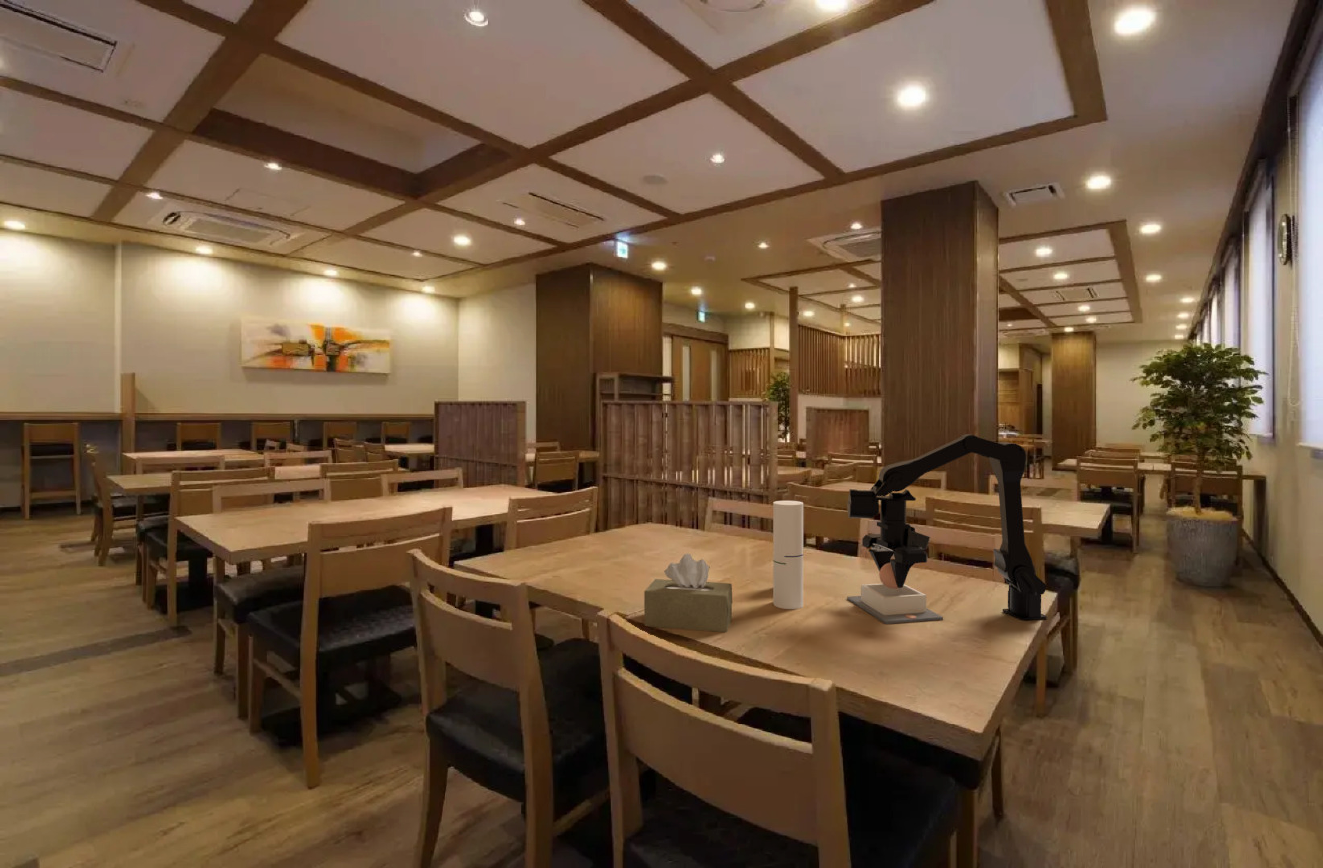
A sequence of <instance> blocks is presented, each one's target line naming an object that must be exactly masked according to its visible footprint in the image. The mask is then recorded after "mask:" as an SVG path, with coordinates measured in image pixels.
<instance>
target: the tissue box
mask: <svg viewBox="0 0 1323 868" xmlns="http://www.w3.org/2000/svg"><path fill="white" fill-rule="evenodd" d="M663 572H664V574H665V577H667V578H668V579H661V578H659V579H658V578H655V579H653V581H652V582H651V583H650V584H649V585H648V586H647V588H646V589H645V590H644V591H643V597H644V598H643V601H644V603H643V605H644V606H643V607H644V626H646V627H653V628H664V629H665V628H666V629H680V630H689V631H690V630H692V631H693V630H694V631H704V632H705V631H707V632H718V633H727V632H728V629H729V626H730V623H731V622H732V619H733V618H732V617H733V616H732V615H733V609H732V608H733V584H732V583H730V582H729V583H728V582H726V583H725V582H715V581H714V582H710V581H709V582H708V577H709V572H710V565H708V564H707V562H706V561H705V560H704V559H702V558H701V559H699V560H695V559H693V556H692V554H690V553H685V554H684V555H683V556H682V557H681V558H680V560H679V562H677V563H675V562H670V563H669V564H668V566H667V568H665V570H663Z"/></svg>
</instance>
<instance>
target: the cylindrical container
mask: <svg viewBox="0 0 1323 868" xmlns="http://www.w3.org/2000/svg"><path fill="white" fill-rule="evenodd" d="M772 503H773V504H772V506H773V507H772V509H773V510H772V511H773V512H772V513H773V514H772V515H773V516H772V517H773V519H772V521H773V522H772V523H773V524H772V527H773V529H772V535H773V537H772V538H773V542H772V545H773V547H772V548H773V549H772V551H773V555H772V559H773V561H772V562H773V563H772V565H773V566H772V571H773V572H772V573H773V574H772V575H773V579H772V581H773V582H772V583H773V584H772V585H773V587H772V588H773V590H772V594H773V595H772V596H773V597H772V598H773V599H772V601H773V602H772V604H773V605H774V606H775V607H776V608H779V609H783V610H798V609H801V608H803V607H804V502H803V501H799V500H776V501H773V502H772Z"/></svg>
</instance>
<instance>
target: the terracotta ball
mask: <svg viewBox="0 0 1323 868" xmlns="http://www.w3.org/2000/svg"><path fill="white" fill-rule="evenodd" d="M878 576H879V580H880V582H881V583H883V584H884V585H885V586H886V587H888V588H891V589H896V588H898V587H897V584H896V581H895V577H894V573H893V570H892V566H891V562H890V563H887V564H885V565H884V566H883V567H882V568H881V570H880V572H879V574H878ZM906 580H907V579H906ZM906 580H905V582H904V584H905V583H906Z"/></svg>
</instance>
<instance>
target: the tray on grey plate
mask: <svg viewBox="0 0 1323 868" xmlns="http://www.w3.org/2000/svg"><path fill="white" fill-rule="evenodd" d="M846 597H847V598H846V599H847V600H848V601H849V602H851V603H852V604H854V605H855V606H857V607H859V608H861V610H863V611H865V612H867V613H868V614H869V615H871V616H872V617H874V618H876V619H877V620H879V621H880V622H882V623H884V624H885V625H890V624H902V623H903V624H906V623H917V622H929V621H931V622H932V621H941V620H942V621H943V620H944V617H943V616H942V615H940V614H938V613H936V612H934V611H932V610H930V609H929V608H927V594H925V593H923V592H921V591H919V590H916V588H913V587H911V586H909V585H907V584H905V583H904V585H903V587H902V588H896V589H891V588H888V587H886V586H885V585H884V584H883V583H882V582H881V583H869V584H868V583H867V584H865V583H864V584H860V595H853V596H846Z"/></svg>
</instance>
